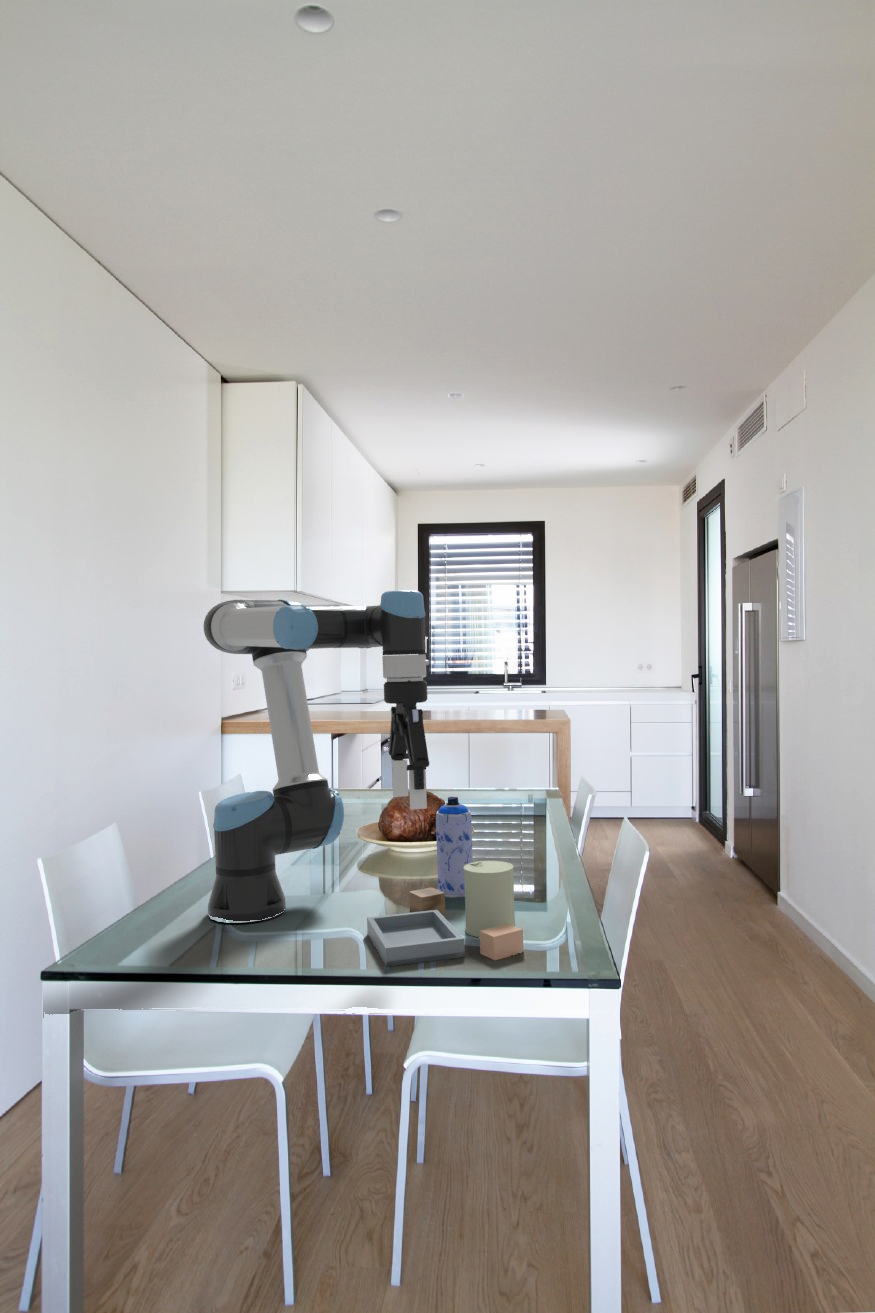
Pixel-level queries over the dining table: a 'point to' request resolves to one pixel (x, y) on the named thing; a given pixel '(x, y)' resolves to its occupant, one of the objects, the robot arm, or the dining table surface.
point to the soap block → (501, 941)
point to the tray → (414, 937)
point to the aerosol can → (453, 846)
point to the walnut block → (427, 900)
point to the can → (488, 895)
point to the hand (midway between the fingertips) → (409, 802)
